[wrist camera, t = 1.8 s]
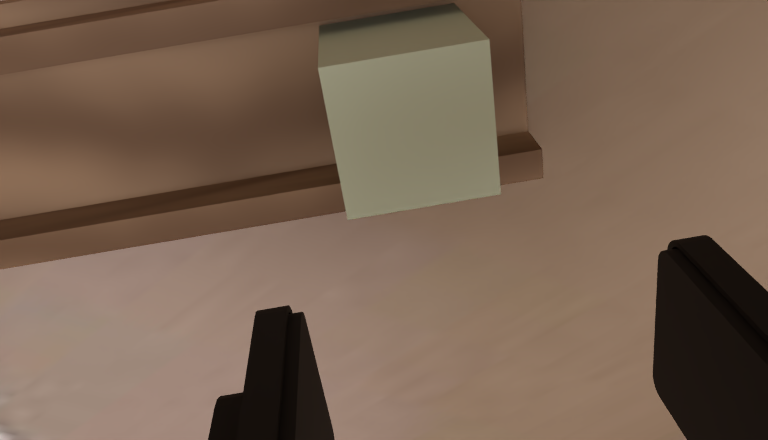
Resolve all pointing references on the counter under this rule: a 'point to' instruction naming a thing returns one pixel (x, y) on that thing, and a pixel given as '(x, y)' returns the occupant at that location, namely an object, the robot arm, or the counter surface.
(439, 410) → the counter surface
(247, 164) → the chute
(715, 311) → the robot arm
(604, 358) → the counter surface
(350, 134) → the block
